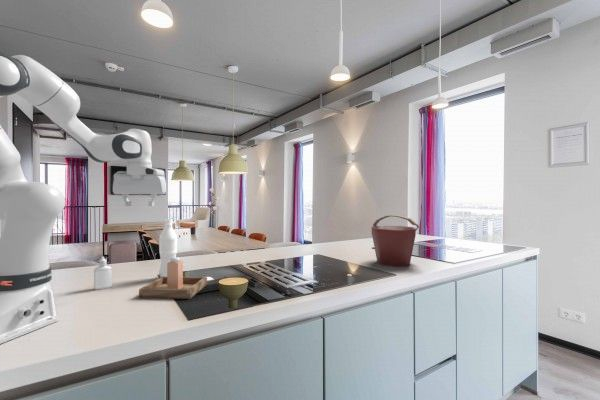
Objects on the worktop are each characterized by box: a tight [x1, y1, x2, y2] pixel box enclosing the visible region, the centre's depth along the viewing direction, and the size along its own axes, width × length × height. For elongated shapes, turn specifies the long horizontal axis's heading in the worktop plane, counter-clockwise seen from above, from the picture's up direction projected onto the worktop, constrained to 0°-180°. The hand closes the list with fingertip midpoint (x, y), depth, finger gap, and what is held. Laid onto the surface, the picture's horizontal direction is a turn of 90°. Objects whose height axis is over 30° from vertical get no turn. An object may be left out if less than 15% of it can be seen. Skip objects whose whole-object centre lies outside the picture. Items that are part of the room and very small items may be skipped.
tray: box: [138, 276, 208, 300], centre depth 110 cm, size 16×18×3 cm
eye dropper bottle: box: [93, 256, 113, 291], centre depth 114 cm, size 4×6×12 cm
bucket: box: [371, 214, 420, 268], centre depth 156 cm, size 24×22×25 cm
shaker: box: [167, 256, 184, 289], centre depth 110 cm, size 4×4×11 cm
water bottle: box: [158, 218, 178, 278], centre depth 128 cm, size 7×7×25 cm
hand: (139, 205), depth 119 cm, fingers open, 8 cm apart
